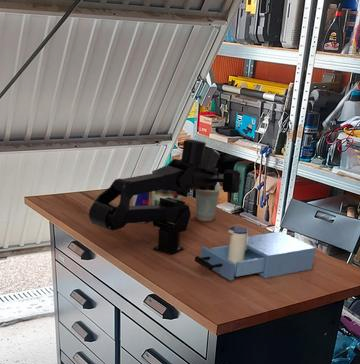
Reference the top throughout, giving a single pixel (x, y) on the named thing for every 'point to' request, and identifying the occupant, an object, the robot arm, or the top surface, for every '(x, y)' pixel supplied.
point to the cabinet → (282, 253)
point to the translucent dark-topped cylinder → (163, 195)
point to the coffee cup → (206, 203)
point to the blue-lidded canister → (237, 244)
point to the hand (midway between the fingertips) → (228, 180)
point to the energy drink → (140, 200)
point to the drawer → (225, 267)
